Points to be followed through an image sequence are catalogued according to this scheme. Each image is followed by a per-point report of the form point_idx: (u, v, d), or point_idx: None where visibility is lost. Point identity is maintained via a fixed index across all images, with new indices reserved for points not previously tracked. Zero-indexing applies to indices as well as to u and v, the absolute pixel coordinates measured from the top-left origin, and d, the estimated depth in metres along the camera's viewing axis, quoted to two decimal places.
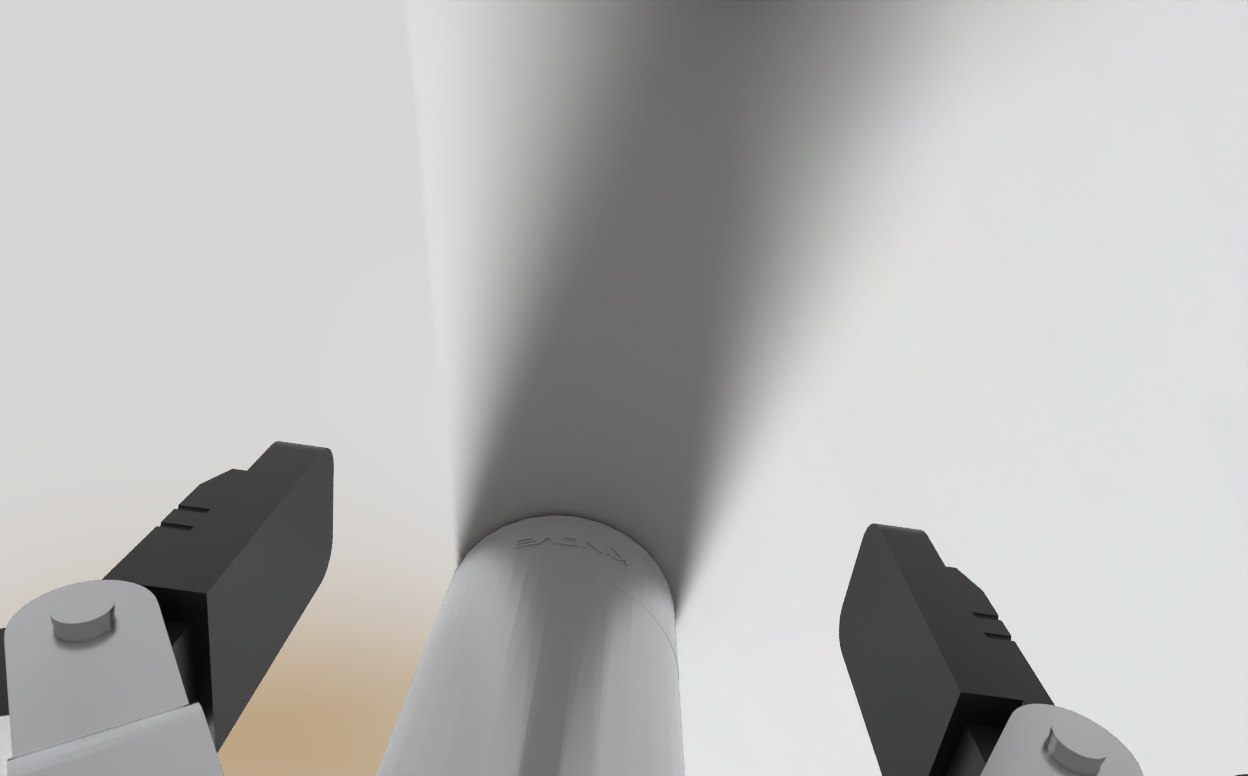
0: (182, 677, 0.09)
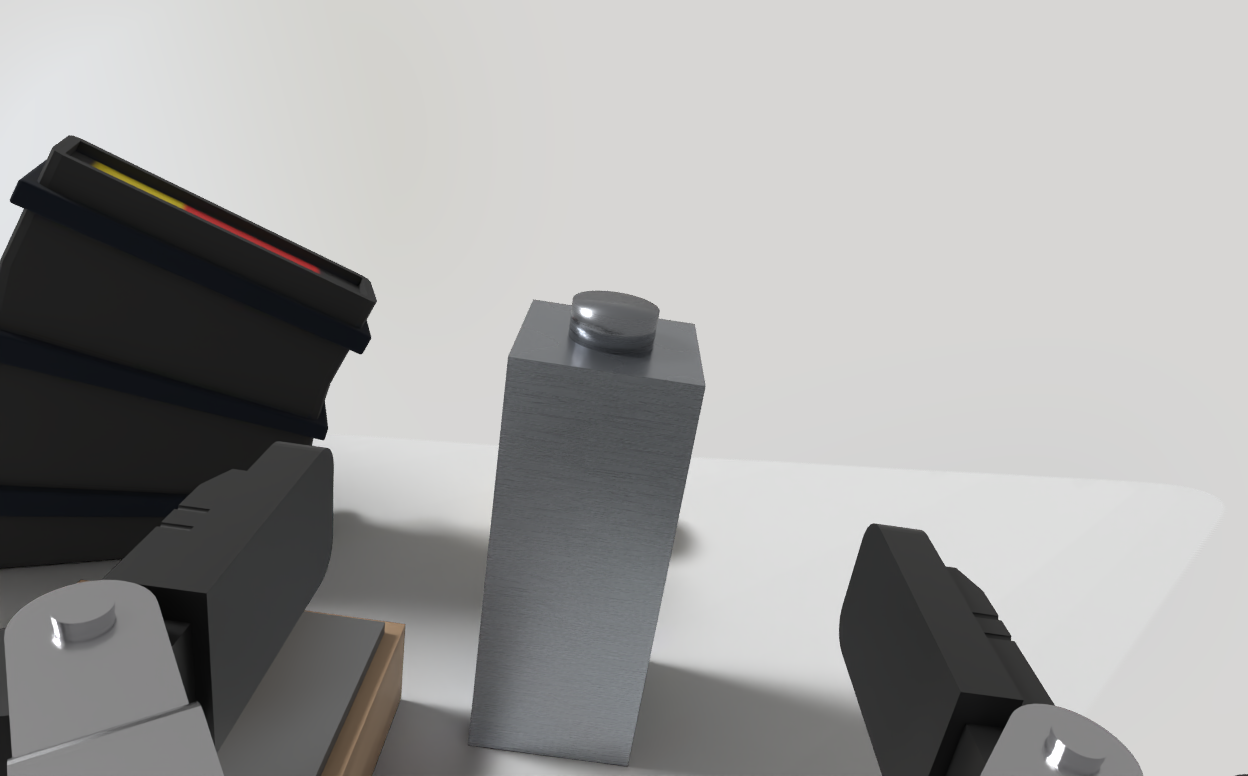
0: (182, 677, 0.09)
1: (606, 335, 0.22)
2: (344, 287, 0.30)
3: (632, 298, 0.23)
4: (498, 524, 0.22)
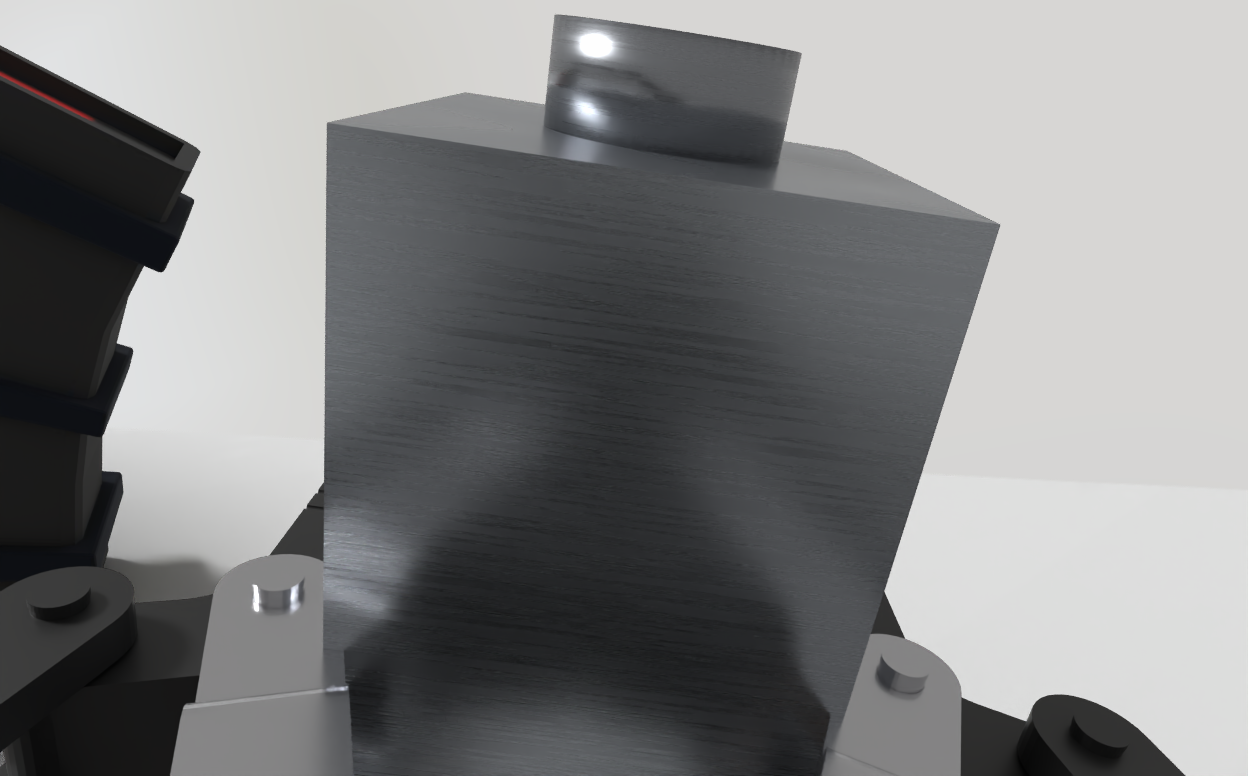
0: None
1: (656, 94, 0.07)
2: (117, 137, 0.15)
3: None
4: (344, 664, 0.08)
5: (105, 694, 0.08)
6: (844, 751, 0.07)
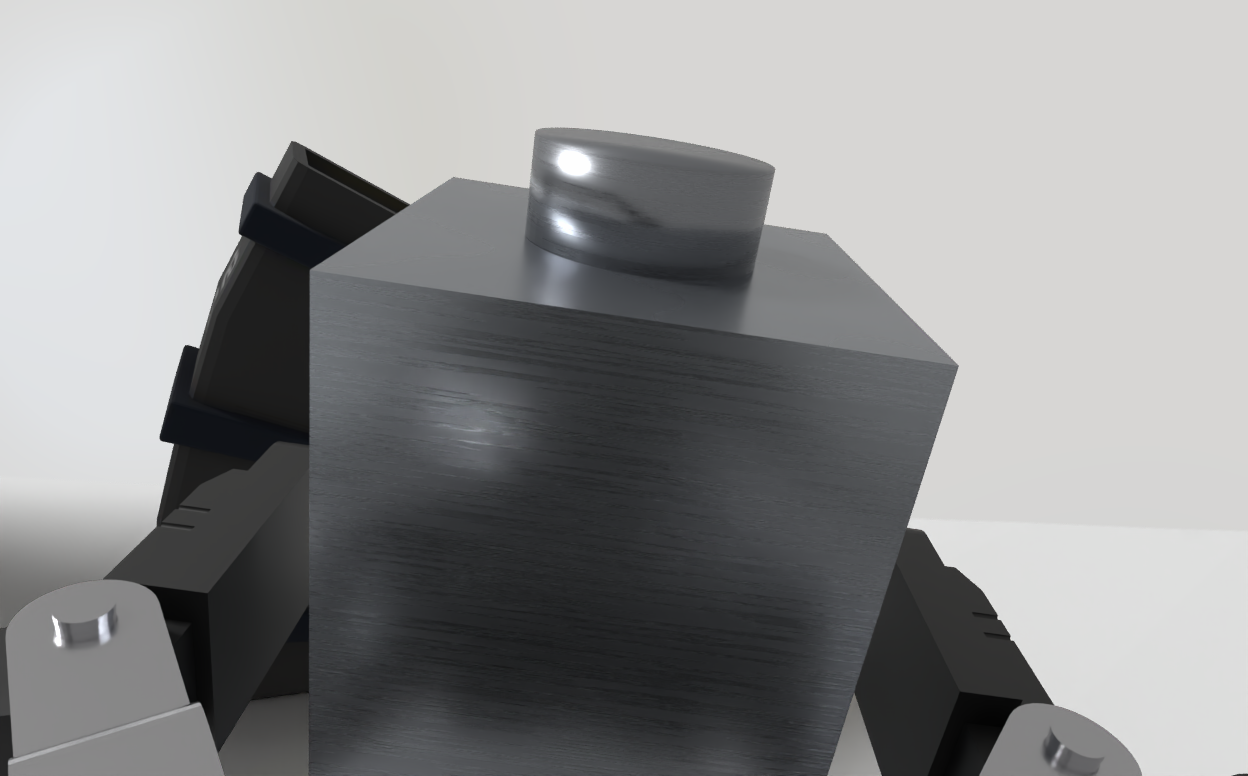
0: (183, 677, 0.09)
1: (631, 220, 0.07)
2: None
3: (694, 147, 0.09)
4: (330, 760, 0.08)
5: None
6: None
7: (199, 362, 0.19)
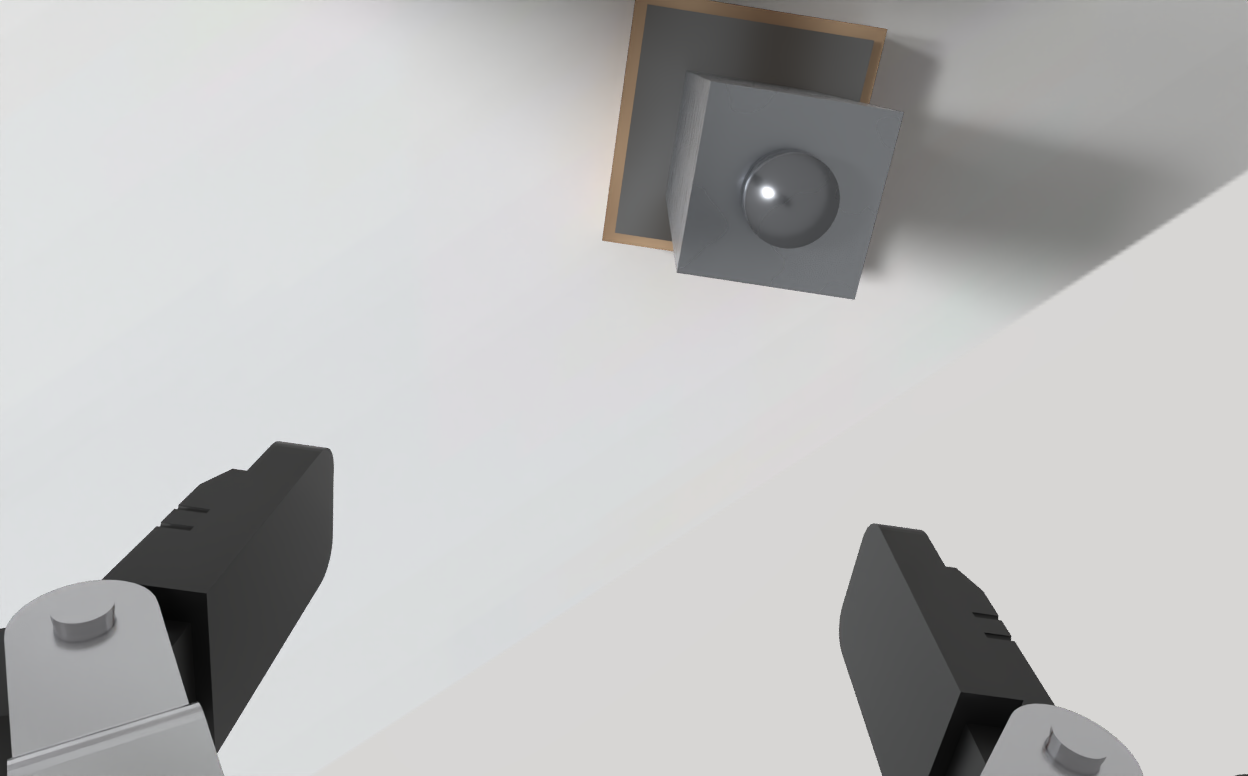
0: (182, 677, 0.09)
1: None
2: None
3: (816, 171, 0.21)
4: None
5: None
6: None
7: None
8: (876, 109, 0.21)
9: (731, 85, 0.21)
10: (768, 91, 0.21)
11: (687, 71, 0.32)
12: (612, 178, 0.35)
